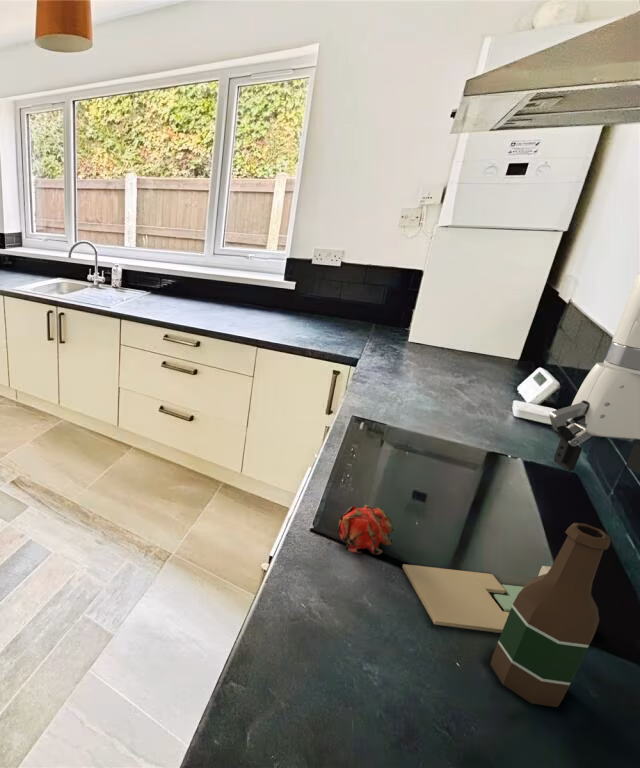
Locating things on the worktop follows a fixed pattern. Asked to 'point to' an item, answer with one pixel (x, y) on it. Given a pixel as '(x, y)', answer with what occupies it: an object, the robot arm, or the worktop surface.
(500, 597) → the sage pad
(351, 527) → the dragon fruit
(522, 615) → the beer bottle
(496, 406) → the worktop surface
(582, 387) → the robot arm
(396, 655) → the worktop surface
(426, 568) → the sand mat
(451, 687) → the worktop surface
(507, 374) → the worktop surface
